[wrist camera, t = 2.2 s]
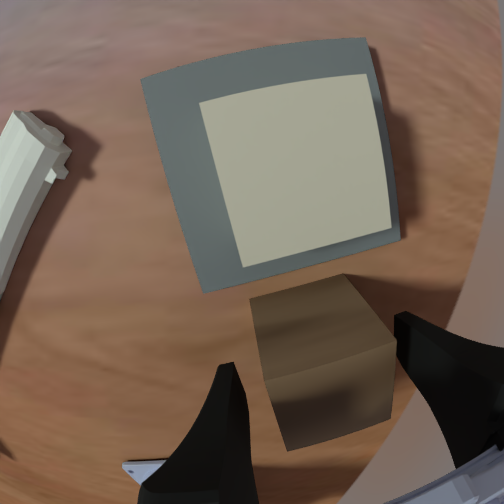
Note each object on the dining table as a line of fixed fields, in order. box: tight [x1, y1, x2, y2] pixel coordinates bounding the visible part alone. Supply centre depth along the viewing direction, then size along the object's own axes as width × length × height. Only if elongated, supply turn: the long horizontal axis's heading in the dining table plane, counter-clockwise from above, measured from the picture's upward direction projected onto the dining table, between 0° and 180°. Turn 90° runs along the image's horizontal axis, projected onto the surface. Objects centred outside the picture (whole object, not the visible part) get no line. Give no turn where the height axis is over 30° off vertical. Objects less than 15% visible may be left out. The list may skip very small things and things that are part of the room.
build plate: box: [141, 38, 401, 294], centre depth 11 cm, size 9×9×4 cm
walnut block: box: [249, 274, 397, 451], centre depth 13 cm, size 4×4×6 cm
